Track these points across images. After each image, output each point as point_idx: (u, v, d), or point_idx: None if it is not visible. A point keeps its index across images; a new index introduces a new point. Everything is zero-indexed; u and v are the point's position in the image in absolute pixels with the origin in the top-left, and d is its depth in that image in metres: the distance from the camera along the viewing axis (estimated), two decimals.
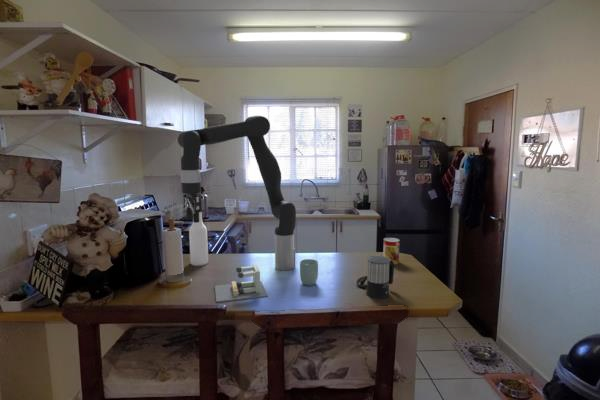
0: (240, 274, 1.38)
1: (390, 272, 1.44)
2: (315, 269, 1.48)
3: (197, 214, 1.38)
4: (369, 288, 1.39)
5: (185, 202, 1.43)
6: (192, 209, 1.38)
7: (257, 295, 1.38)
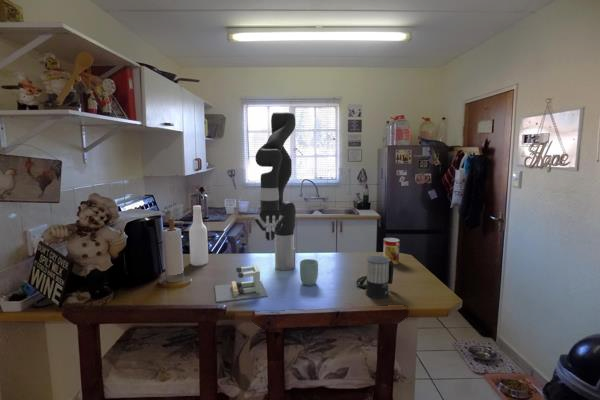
0: (240, 274, 1.38)
1: (390, 272, 1.44)
2: (315, 269, 1.48)
3: None
4: (368, 288, 1.39)
5: (266, 222, 1.41)
6: (273, 227, 1.42)
7: (257, 295, 1.38)
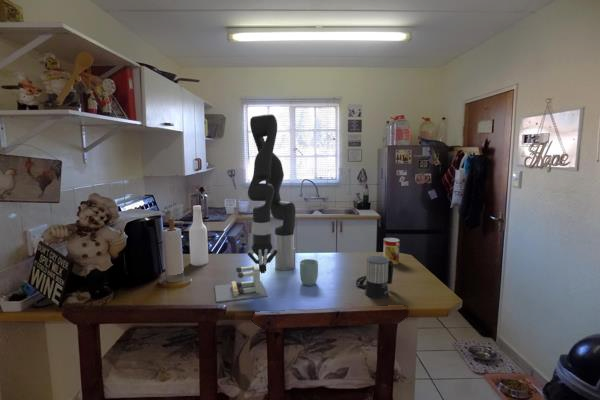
0: (240, 274, 1.38)
1: (389, 272, 1.44)
2: (315, 269, 1.48)
3: (265, 264, 1.45)
4: (368, 288, 1.39)
5: (259, 256, 1.42)
6: (264, 260, 1.43)
7: (257, 295, 1.38)
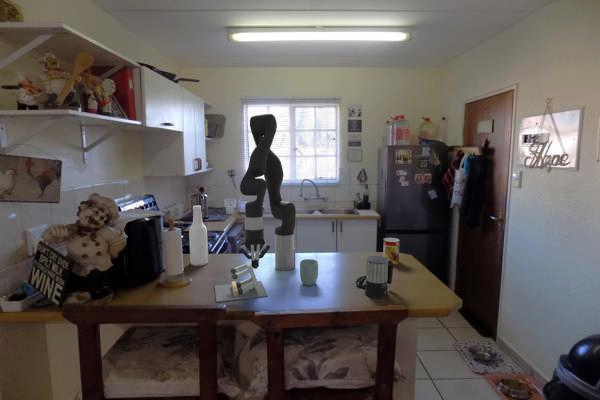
0: (234, 276, 1.38)
1: (389, 272, 1.44)
2: (315, 269, 1.48)
3: None
4: (368, 288, 1.39)
5: (251, 251, 1.41)
6: (257, 255, 1.42)
7: (257, 295, 1.38)
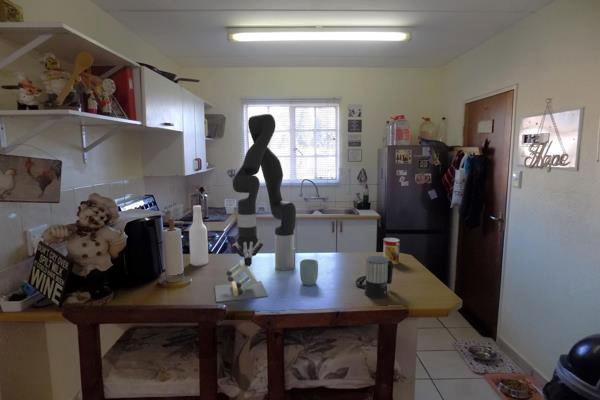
0: (229, 278, 1.37)
1: (389, 272, 1.44)
2: (315, 269, 1.48)
3: None
4: (367, 288, 1.39)
5: (244, 248, 1.40)
6: (250, 253, 1.41)
7: (257, 295, 1.38)
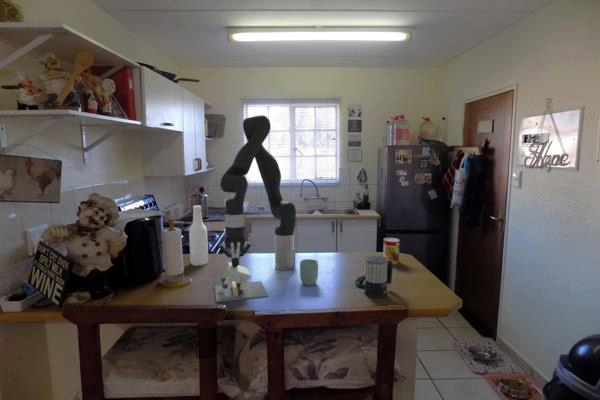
0: (223, 286, 1.37)
1: (388, 272, 1.44)
2: (315, 269, 1.48)
3: (238, 258, 1.41)
4: (367, 288, 1.39)
5: (231, 249, 1.38)
6: (237, 253, 1.40)
7: (257, 295, 1.38)
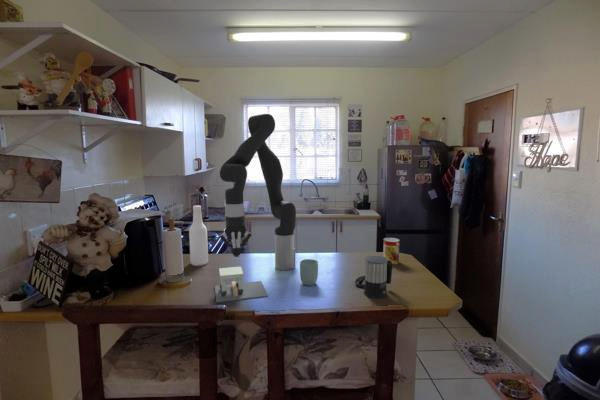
0: (222, 294, 1.37)
1: (388, 272, 1.44)
2: (315, 269, 1.48)
3: (239, 247, 1.41)
4: (367, 288, 1.39)
5: (232, 239, 1.38)
6: (238, 243, 1.39)
7: (257, 295, 1.38)
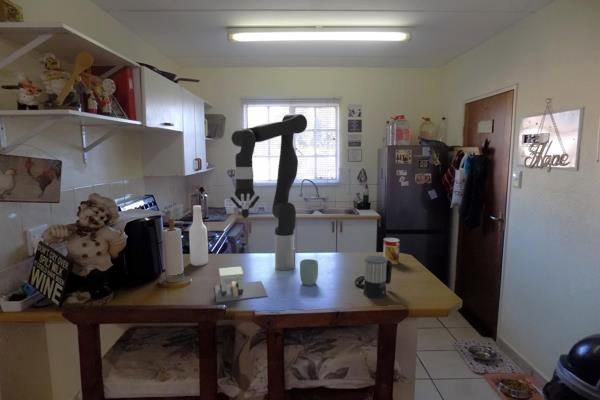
0: (222, 294, 1.37)
1: (388, 272, 1.44)
2: (315, 269, 1.48)
3: None
4: (366, 287, 1.39)
5: (241, 200, 1.47)
6: (247, 205, 1.48)
7: (257, 295, 1.38)
